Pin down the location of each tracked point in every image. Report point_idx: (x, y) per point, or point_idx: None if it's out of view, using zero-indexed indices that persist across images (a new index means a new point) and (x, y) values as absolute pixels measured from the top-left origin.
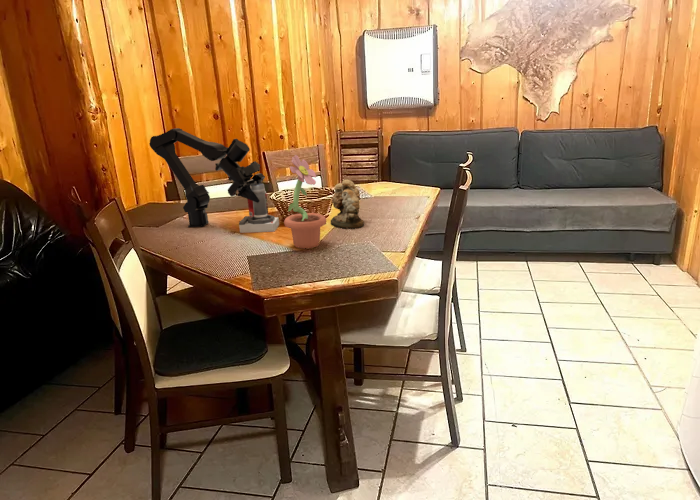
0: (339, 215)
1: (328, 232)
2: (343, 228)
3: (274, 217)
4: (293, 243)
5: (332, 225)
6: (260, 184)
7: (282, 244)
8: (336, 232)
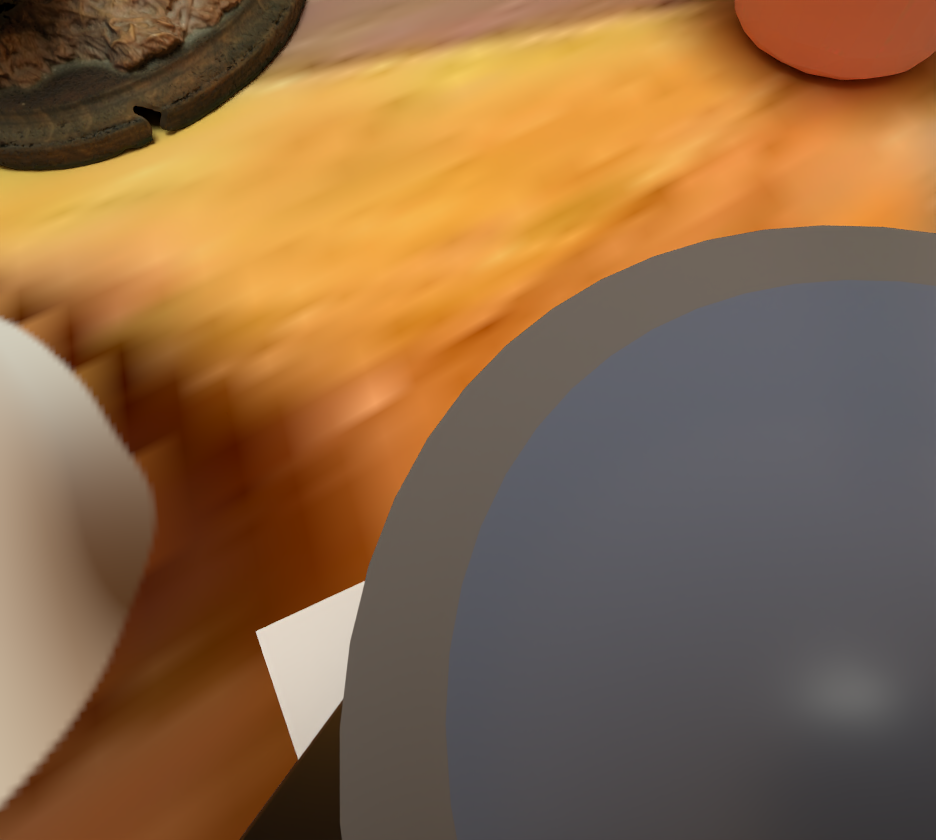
0: (113, 2)
1: (441, 49)
2: (303, 4)
3: (285, 693)
4: (932, 53)
5: (214, 108)
6: (800, 475)
7: (927, 177)
8: (421, 7)
